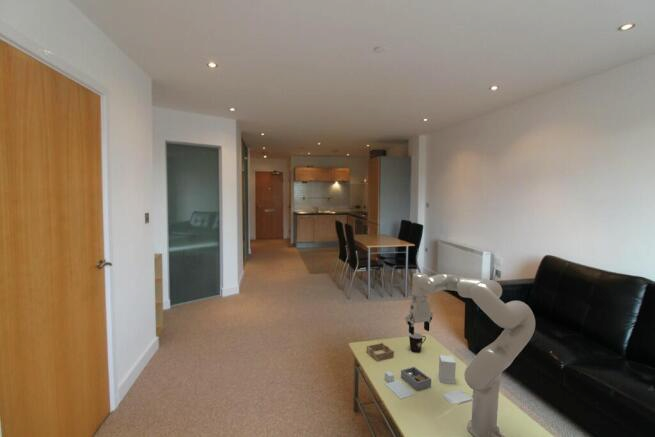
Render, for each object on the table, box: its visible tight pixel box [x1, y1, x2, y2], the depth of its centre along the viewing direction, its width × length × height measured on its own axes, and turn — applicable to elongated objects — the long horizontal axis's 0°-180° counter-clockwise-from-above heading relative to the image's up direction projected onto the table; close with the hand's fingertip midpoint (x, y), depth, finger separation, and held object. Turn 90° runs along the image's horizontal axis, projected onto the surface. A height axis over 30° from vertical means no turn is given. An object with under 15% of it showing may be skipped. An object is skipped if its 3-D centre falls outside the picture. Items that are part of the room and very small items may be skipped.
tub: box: [400, 366, 432, 392], centre depth 166 cm, size 13×9×5 cm
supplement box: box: [438, 354, 457, 385], centre depth 168 cm, size 7×7×13 cm
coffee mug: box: [408, 332, 427, 354], centre depth 202 cm, size 12×9×10 cm
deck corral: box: [366, 342, 395, 362], centre depth 196 cm, size 12×12×4 cm
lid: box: [384, 371, 416, 400], centre depth 161 cm, size 17×9×4 cm, turn 25°
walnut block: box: [414, 375, 426, 382], centre depth 163 cm, size 4×4×4 cm
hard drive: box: [440, 389, 473, 406], centre depth 154 cm, size 2×8×12 cm
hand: (419, 331), depth 155 cm, fingers open, 9 cm apart
